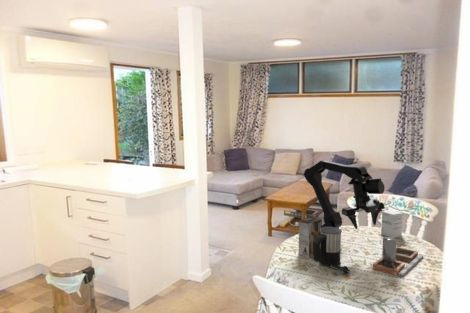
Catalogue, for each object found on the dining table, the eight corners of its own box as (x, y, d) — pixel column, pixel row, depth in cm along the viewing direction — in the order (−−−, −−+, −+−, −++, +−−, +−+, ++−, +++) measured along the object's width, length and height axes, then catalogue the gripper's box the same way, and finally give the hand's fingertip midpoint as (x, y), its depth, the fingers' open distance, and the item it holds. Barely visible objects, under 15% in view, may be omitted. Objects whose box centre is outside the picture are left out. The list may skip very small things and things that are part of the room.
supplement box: (380, 234, 193) (381, 211, 192) (390, 232, 196) (391, 209, 195) (391, 238, 187) (392, 214, 185) (402, 236, 190) (403, 212, 188)
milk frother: (325, 257, 164) (325, 224, 162) (359, 266, 154) (360, 232, 152) (309, 267, 153) (309, 233, 151) (345, 278, 143) (346, 241, 141)
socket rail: (402, 277, 143) (402, 272, 143) (372, 268, 151) (372, 264, 151) (423, 257, 162) (423, 252, 162) (395, 250, 170) (395, 246, 170)
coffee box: (310, 249, 173) (311, 216, 171) (321, 253, 168) (322, 219, 166) (297, 254, 167) (298, 219, 166) (309, 258, 163) (309, 223, 161)
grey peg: (385, 271, 149) (387, 241, 147) (379, 266, 154) (380, 237, 152) (397, 270, 149) (399, 241, 148) (391, 265, 154) (392, 236, 153)
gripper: (350, 200, 157) (356, 235, 158) (389, 192, 161) (394, 226, 162) (338, 196, 168) (343, 229, 169) (375, 189, 172) (379, 221, 173)
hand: (365, 226), depth 168 cm, fingers open, 9 cm apart
